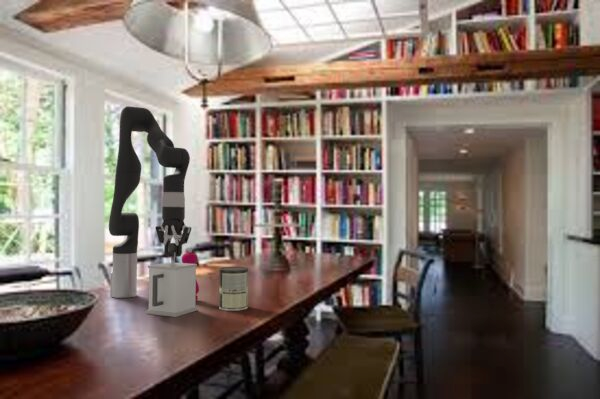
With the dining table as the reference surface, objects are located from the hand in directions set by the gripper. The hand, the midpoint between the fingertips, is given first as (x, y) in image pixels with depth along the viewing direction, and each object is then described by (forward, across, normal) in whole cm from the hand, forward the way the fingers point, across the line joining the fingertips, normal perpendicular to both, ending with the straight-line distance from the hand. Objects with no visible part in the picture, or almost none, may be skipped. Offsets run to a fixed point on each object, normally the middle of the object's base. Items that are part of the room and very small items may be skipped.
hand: (173, 255), depth 175 cm
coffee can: (+19, +15, +15) cm, 29 cm away
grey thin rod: (+17, 0, 0) cm, 17 cm away
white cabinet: (+19, 0, -2) cm, 19 cm away
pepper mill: (+19, -7, +19) cm, 28 cm away
